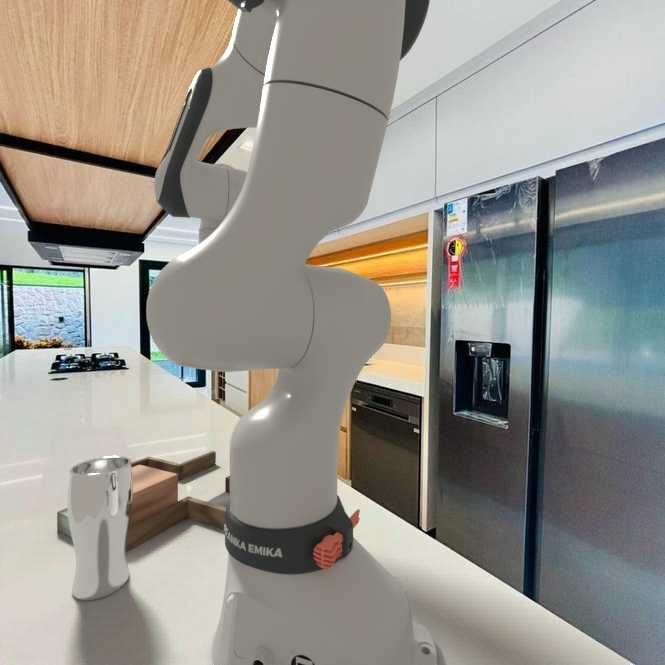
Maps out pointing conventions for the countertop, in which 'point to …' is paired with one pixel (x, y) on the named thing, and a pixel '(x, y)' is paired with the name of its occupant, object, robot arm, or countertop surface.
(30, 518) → the countertop surface
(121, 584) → the beer glass
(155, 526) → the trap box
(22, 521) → the countertop surface
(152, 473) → the terracotta block
